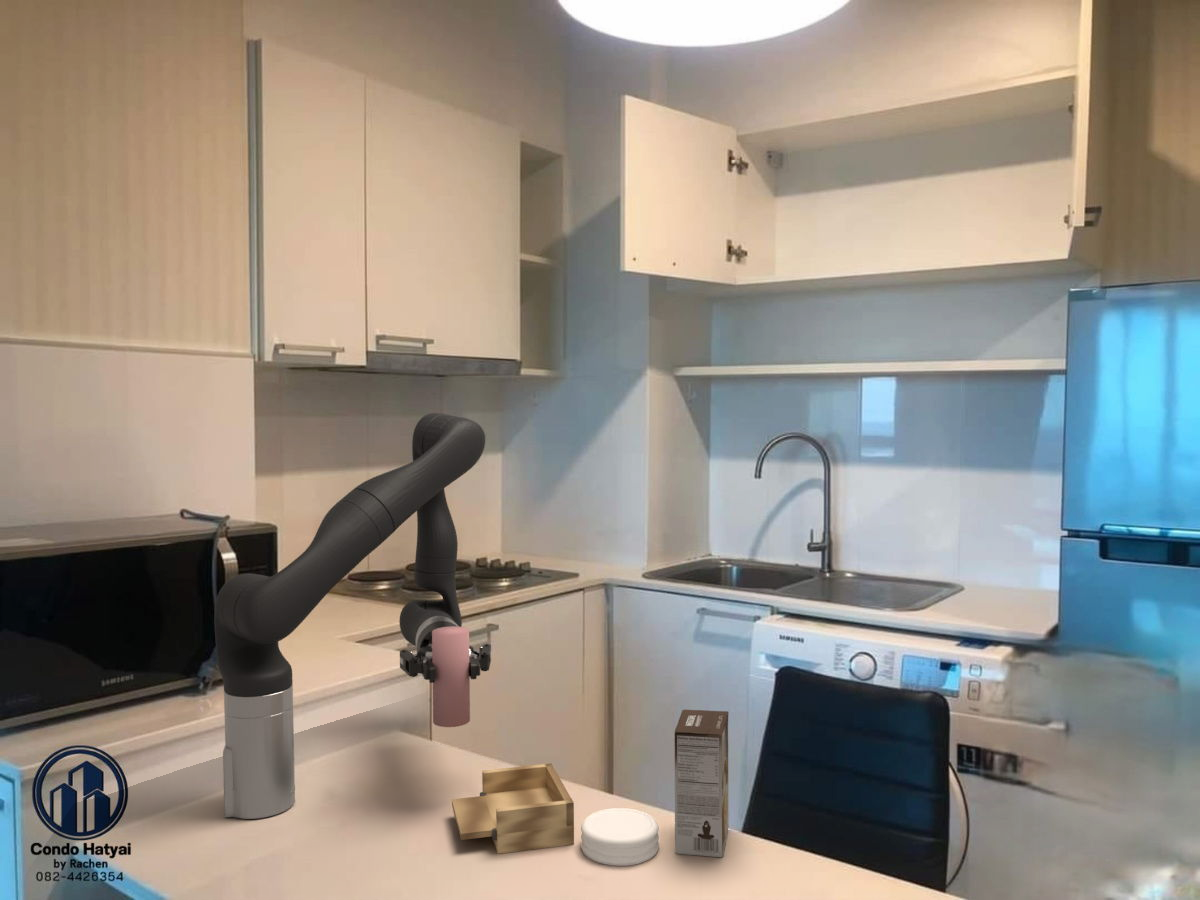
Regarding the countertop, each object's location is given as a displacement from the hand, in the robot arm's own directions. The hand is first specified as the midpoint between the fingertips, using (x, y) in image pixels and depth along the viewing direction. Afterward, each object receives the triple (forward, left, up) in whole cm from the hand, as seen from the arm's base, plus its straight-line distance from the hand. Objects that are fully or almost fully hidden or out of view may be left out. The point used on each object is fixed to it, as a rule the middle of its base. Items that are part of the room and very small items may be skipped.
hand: (453, 673), depth 131 cm
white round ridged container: (+19, -16, -20) cm, 32 cm away
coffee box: (+30, -17, -20) cm, 40 cm away
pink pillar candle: (0, +3, -7) cm, 8 cm away
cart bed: (+7, -7, -20) cm, 22 cm away
